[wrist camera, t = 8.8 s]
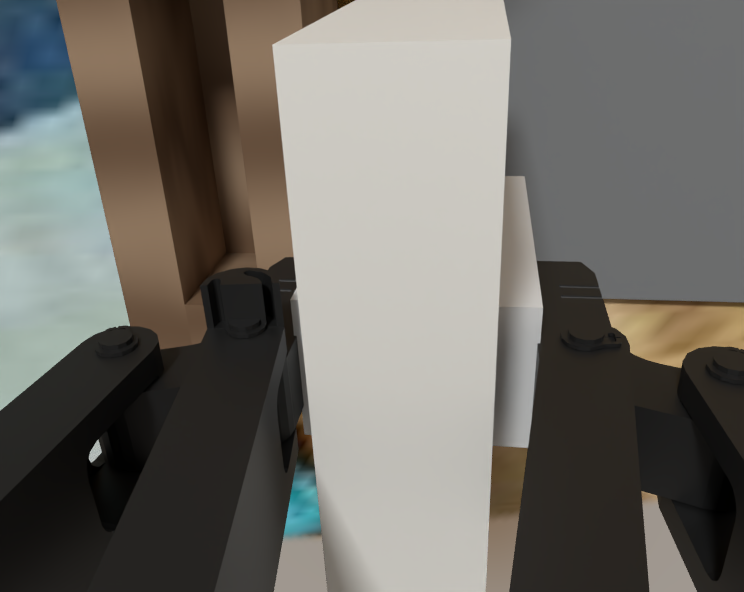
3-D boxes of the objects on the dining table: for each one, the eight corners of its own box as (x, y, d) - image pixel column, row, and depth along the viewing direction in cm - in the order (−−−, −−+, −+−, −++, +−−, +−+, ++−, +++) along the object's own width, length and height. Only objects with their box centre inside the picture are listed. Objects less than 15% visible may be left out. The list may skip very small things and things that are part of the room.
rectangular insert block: (484, 304, 25) (480, 711, 12) (415, 302, 26) (338, 695, 13) (497, -33, 20) (510, 39, 7) (410, -30, 21) (272, 44, 8)
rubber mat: (886, 301, 29) (891, 306, 29) (409, 289, 32) (408, 293, 32) (1034, -150, 22) (1044, -151, 22) (401, -114, 25) (400, -115, 25)
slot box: (354, 288, 33) (329, 356, 27) (190, 283, 34) (135, 349, 29) (330, -110, 25) (290, -120, 20) (122, -98, 27) (32, -105, 21)
